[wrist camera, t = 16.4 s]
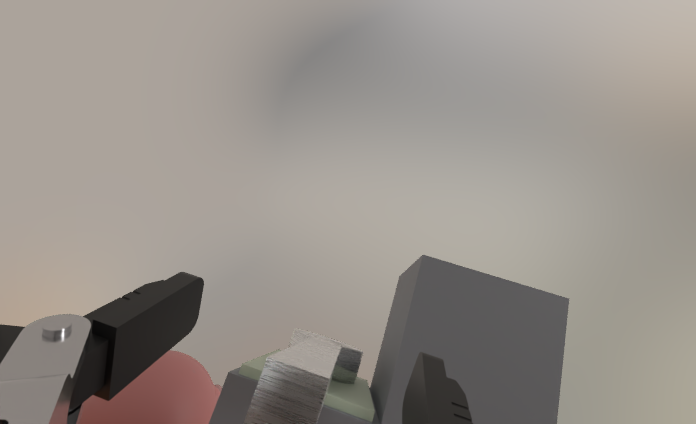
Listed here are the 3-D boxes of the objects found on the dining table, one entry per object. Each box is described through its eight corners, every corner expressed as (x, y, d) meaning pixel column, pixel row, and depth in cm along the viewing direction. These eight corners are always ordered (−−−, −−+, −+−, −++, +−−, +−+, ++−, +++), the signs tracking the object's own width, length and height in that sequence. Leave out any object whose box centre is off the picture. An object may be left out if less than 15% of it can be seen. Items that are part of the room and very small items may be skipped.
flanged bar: (354, 376, 31) (362, 348, 32) (359, 474, 11) (379, 396, 12) (291, 353, 32) (300, 327, 32) (192, 410, 12) (220, 340, 13)
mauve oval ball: (238, 506, 42) (280, 380, 47) (49, 552, 28) (136, 367, 33) (188, 446, 52) (227, 347, 57) (31, 458, 39) (99, 327, 43)
